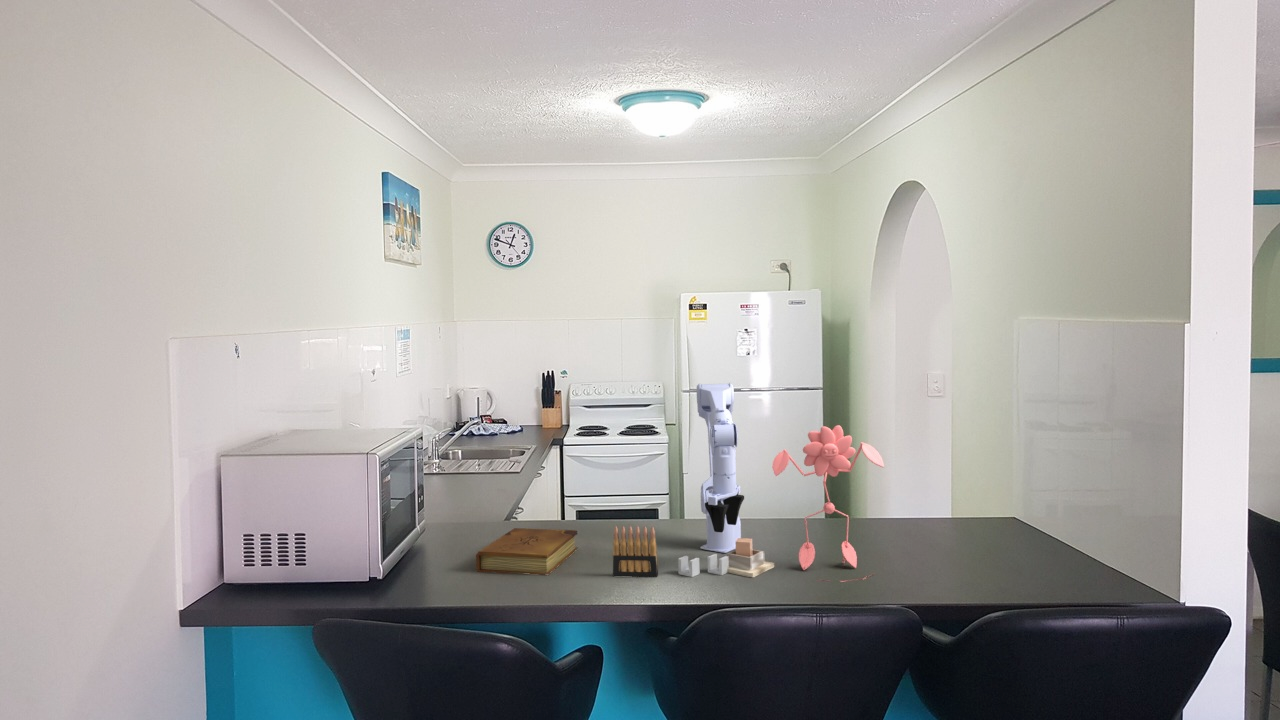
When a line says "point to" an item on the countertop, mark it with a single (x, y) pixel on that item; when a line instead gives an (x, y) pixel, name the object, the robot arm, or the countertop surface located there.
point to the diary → (527, 551)
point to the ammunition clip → (634, 554)
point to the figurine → (831, 458)
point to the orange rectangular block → (744, 547)
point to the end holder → (748, 564)
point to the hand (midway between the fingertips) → (725, 528)
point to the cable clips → (694, 569)
